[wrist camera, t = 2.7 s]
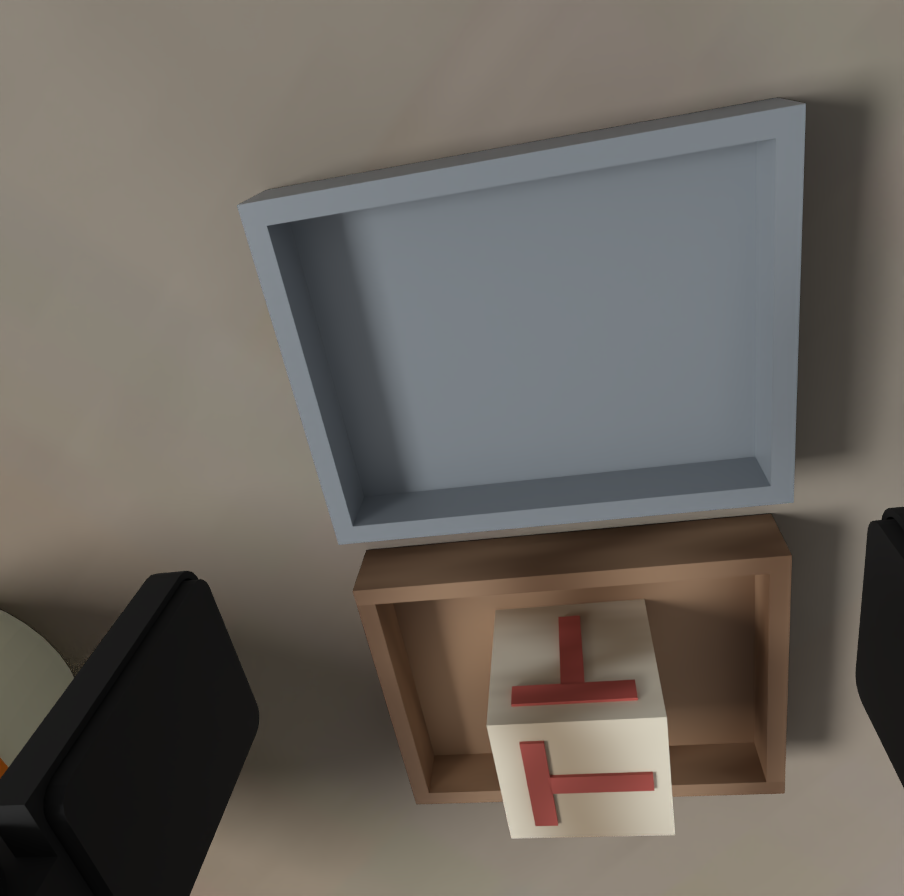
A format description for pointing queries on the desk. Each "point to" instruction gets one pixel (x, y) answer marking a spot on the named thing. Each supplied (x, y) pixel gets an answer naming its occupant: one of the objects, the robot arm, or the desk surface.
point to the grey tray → (547, 325)
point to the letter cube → (579, 722)
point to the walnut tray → (578, 582)
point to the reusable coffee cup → (26, 684)
